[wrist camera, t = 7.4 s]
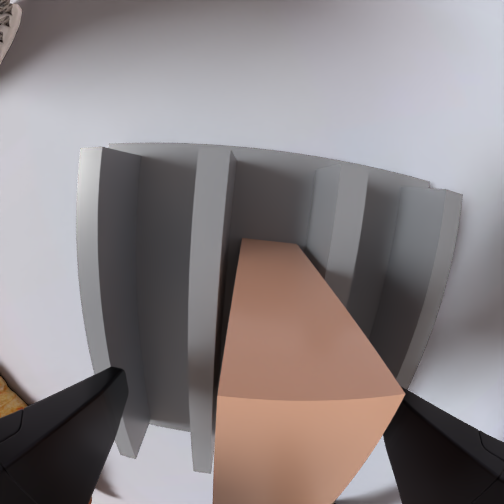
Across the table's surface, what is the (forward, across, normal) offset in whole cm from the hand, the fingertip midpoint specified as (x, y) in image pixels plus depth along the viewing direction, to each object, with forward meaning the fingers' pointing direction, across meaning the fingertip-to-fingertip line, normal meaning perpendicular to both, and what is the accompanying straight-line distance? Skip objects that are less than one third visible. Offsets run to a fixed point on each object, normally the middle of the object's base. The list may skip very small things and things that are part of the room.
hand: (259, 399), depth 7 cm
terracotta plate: (+4, 0, 0) cm, 4 cm away
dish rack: (+5, 0, 0) cm, 5 cm away
